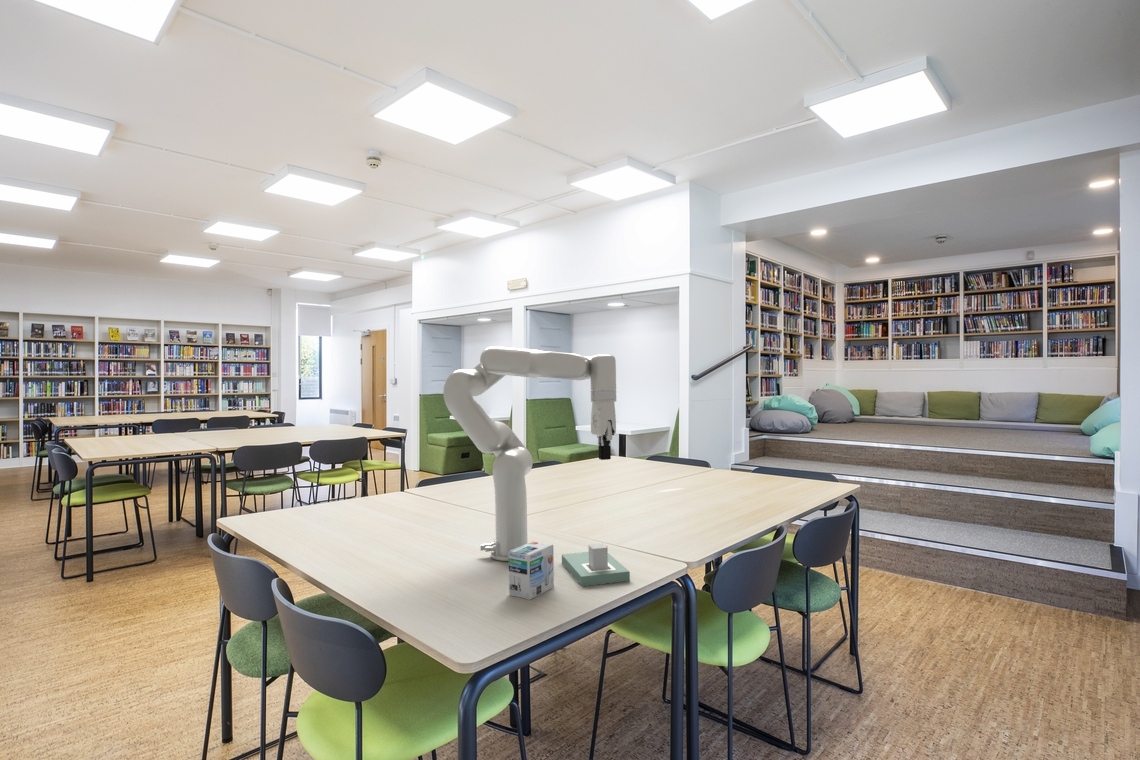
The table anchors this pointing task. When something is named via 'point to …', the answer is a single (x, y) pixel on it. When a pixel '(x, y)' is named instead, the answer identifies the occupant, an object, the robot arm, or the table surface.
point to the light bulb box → (531, 570)
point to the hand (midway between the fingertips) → (604, 459)
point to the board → (586, 577)
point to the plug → (598, 557)
